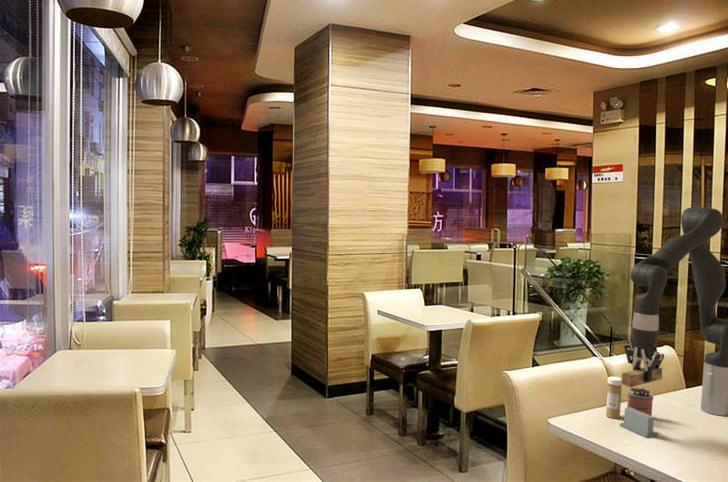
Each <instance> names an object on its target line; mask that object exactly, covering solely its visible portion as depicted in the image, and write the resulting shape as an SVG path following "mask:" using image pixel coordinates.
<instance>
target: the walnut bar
mask: <svg viewBox="0 0 728 482" xmlns="http://www.w3.org/2000/svg"><path fill="white" fill-rule="evenodd" d="M644 370H645V369H644V367H641V369H638V370H633V369H632V370H629V371H625V372H622V373H621V379H622V386H626V387H628V388H630V387H637V386H641V385H644V384H648V383H653V382H656V381H660V380H662V379H663V368H662V367H660V366H659V368H658V370H653V371H652V377H651V381H650V382H644Z"/></svg>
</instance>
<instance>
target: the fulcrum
mask: <svg viewBox="0 0 728 482" xmlns="http://www.w3.org/2000/svg"><path fill="white" fill-rule="evenodd" d="M623 417H624V418H623V422H621V423H619V427H621V428H624V429H626V430H627V431H629V432H632V433H634V434H636V435H639V436H641V437H643V438H645V439H646V438H651V437H656V436H657V435H658V433H657V432H655V431H653V430H654V419H655V417H654V416H653V415H652V416H650V415H648V414H645V413H643V412H640V411H638V410H636V409H633V408H631V407H629V408H627V407H625V408H624V416H623Z"/></svg>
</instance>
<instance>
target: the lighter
mask: <svg viewBox="0 0 728 482" xmlns="http://www.w3.org/2000/svg"><path fill="white" fill-rule="evenodd" d="M629 388H630V390H629V391H630V392H628V393H627V406H626V408H629V407H631V408H633V409H636V410H638V411H640V412H643V413H645V414H648V415H650V416H652V417H653V414H652V413H653V411H652V410H653V401H654V396H653V395H650V394H651V390H650V389H647V388H646V389H645V387H642V386H640V388H638V387H637V386H634V387H629Z"/></svg>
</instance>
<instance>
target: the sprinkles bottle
mask: <svg viewBox="0 0 728 482" xmlns="http://www.w3.org/2000/svg"><path fill="white" fill-rule="evenodd" d="M622 386H623V384H622V377H619V376H608V377H607V394H606V395H607V396H606V412H605V416H606V417H608V418H610V419H611V418H612V419H615V420H616V419H620V417H621V405H622Z"/></svg>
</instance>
